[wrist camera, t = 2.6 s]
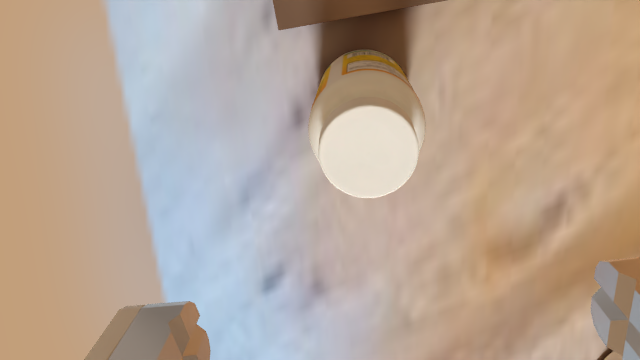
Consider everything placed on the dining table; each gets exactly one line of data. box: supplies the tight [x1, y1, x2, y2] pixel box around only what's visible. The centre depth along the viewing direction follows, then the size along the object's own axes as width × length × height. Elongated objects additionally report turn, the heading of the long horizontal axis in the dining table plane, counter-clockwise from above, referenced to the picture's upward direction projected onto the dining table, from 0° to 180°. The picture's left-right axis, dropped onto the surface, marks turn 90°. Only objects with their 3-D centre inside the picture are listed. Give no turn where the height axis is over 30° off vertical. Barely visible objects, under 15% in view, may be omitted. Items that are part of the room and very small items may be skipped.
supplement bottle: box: [308, 50, 425, 198], centre depth 21 cm, size 5×5×10 cm
